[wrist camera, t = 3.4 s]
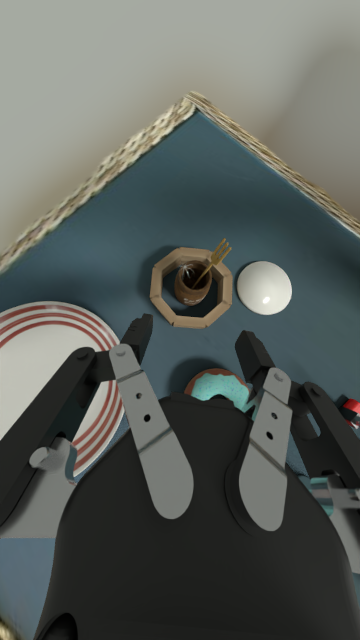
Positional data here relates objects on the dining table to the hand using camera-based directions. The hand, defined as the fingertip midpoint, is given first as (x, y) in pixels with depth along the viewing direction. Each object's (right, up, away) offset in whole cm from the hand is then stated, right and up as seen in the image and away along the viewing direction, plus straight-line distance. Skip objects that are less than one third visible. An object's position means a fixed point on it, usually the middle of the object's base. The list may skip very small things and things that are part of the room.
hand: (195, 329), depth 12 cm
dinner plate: (-23, -10, +11) cm, 28 cm away
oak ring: (+1, +6, +14) cm, 16 cm away
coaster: (+15, +7, +15) cm, 23 cm away
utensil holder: (+1, +6, +15) cm, 16 cm away
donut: (+5, -14, +12) cm, 19 cm away
